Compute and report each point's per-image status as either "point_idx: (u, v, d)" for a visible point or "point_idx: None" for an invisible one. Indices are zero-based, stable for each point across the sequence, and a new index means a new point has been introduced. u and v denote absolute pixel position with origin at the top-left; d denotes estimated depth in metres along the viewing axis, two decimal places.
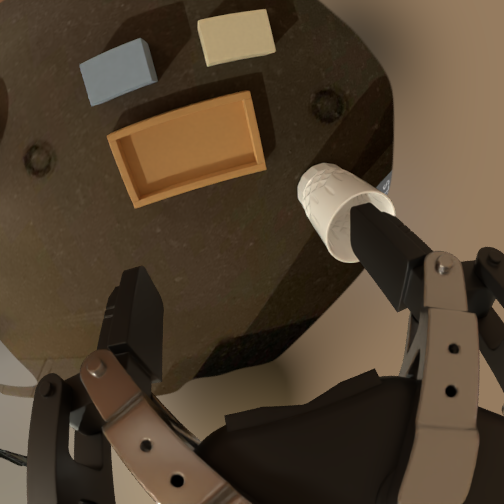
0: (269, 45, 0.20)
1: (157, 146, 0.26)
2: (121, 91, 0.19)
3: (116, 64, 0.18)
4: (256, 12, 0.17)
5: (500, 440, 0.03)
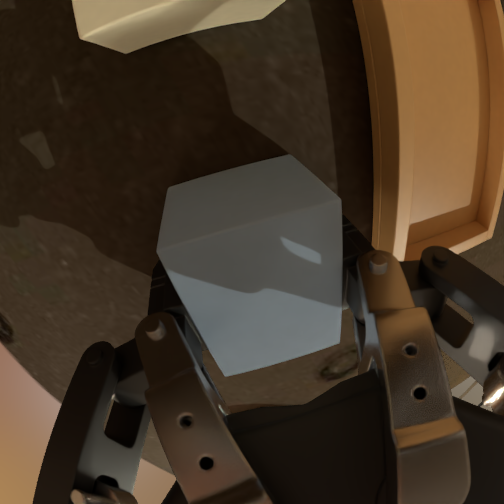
0: None
1: (434, 175, 0.10)
2: (339, 287, 0.08)
3: (250, 308, 0.08)
4: None
5: (494, 445, 0.03)
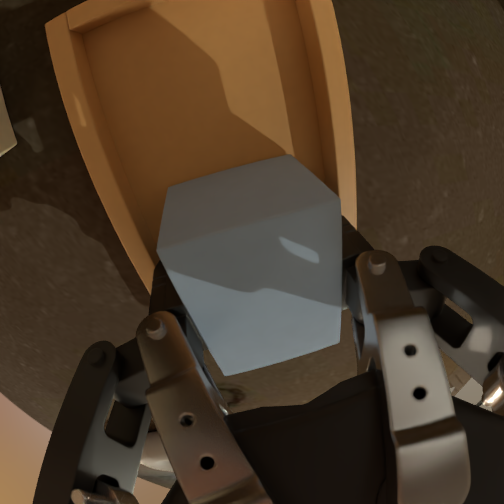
0: None
1: None
2: (338, 286, 0.08)
3: (250, 308, 0.08)
4: None
5: (493, 445, 0.03)
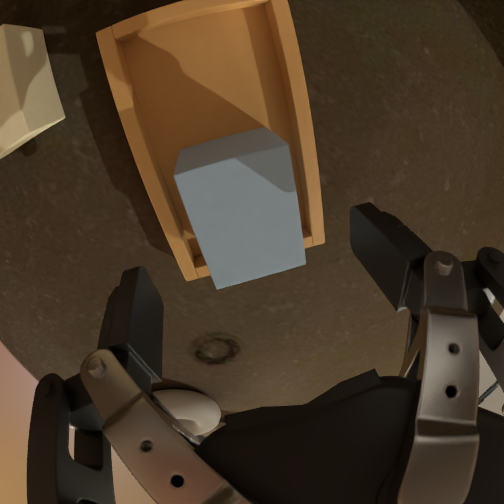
0: None
1: None
2: (296, 209, 0.12)
3: (233, 221, 0.12)
4: None
5: (500, 440, 0.03)
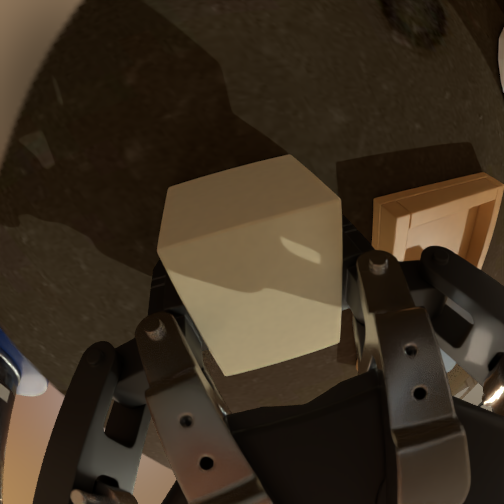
0: (317, 223, 0.07)
1: None
2: None
3: None
4: (179, 277, 0.07)
5: (493, 445, 0.03)
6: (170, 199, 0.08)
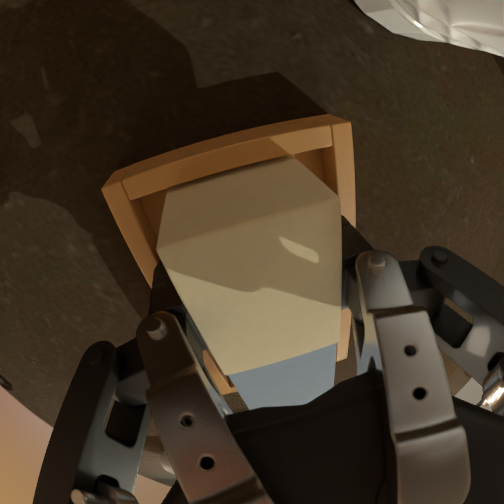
0: (316, 222, 0.07)
1: None
2: (332, 374, 0.12)
3: (278, 389, 0.12)
4: (179, 276, 0.07)
5: (493, 445, 0.03)
6: (170, 198, 0.08)
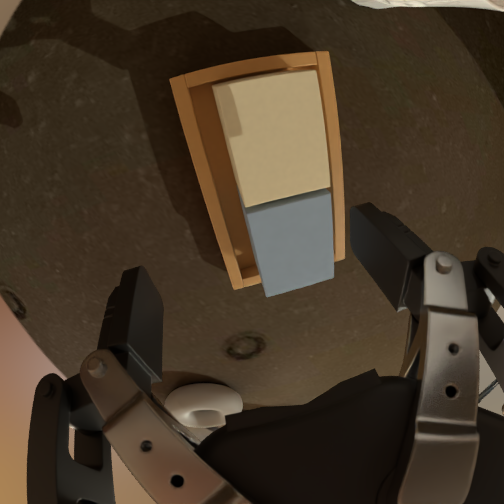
0: (303, 81, 0.10)
1: None
2: (331, 238, 0.16)
3: (286, 247, 0.15)
4: (226, 105, 0.11)
5: (500, 440, 0.03)
6: (216, 84, 0.12)
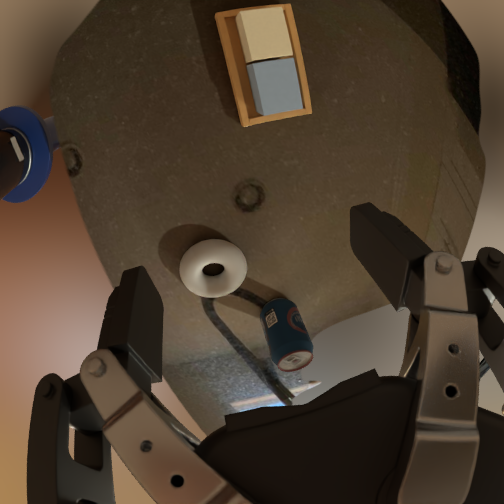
0: (276, 10, 0.20)
1: None
2: (297, 82, 0.26)
3: (273, 83, 0.25)
4: (244, 18, 0.21)
5: (500, 440, 0.03)
6: (237, 16, 0.22)
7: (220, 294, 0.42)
